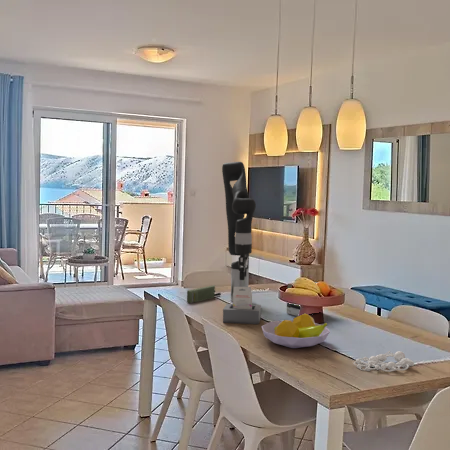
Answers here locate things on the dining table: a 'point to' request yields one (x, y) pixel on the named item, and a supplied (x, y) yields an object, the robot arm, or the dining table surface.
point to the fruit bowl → (296, 332)
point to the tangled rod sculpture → (380, 360)
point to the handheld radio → (201, 294)
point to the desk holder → (242, 315)
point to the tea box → (293, 306)
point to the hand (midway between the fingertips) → (243, 278)
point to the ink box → (242, 298)
